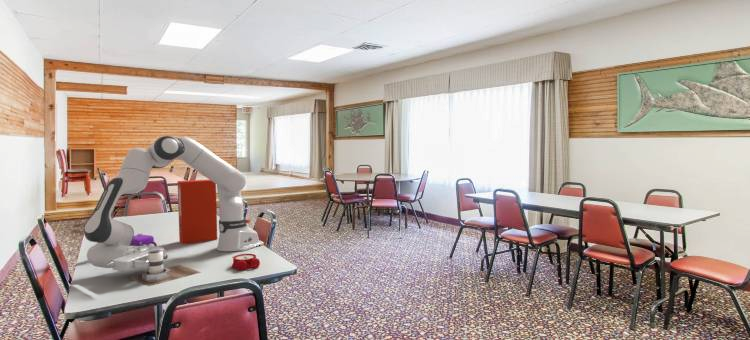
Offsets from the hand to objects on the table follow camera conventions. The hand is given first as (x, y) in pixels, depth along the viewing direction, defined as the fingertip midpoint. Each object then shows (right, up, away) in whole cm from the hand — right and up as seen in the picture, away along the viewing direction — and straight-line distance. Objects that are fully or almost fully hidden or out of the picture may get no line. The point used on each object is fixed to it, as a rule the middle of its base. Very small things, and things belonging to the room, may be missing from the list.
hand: (157, 259), depth 157 cm
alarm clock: (+27, -7, +18) cm, 34 cm away
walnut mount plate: (0, -8, +5) cm, 9 cm away
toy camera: (-25, -6, +34) cm, 42 cm away
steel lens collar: (-1, -7, +1) cm, 7 cm away
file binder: (-13, -4, +66) cm, 67 cm away
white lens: (-1, -7, +1) cm, 7 cm away
